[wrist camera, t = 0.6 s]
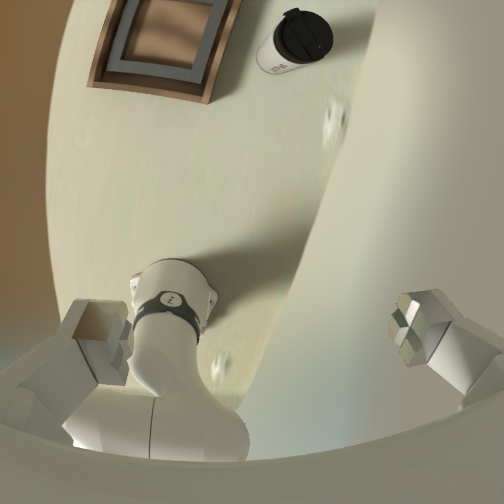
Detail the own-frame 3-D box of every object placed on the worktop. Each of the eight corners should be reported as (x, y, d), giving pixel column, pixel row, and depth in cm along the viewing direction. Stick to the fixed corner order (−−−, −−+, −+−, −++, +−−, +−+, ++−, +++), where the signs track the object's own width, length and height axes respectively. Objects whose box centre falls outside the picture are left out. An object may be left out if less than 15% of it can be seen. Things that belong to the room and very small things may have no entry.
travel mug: (279, 33, 39) (314, -1, 22) (300, 64, 42) (346, 48, 25) (247, 49, 40) (264, 20, 23) (268, 80, 43) (298, 71, 26)
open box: (208, 104, 45) (207, 104, 40) (98, 87, 40) (86, 87, 36) (246, -10, 35) (248, -20, 30) (133, -24, 30) (125, -33, 26)
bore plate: (201, 84, 42) (200, 83, 40) (110, 71, 38) (105, 70, 37) (229, 0, 35) (229, -4, 33) (136, -12, 31) (133, -15, 30)
